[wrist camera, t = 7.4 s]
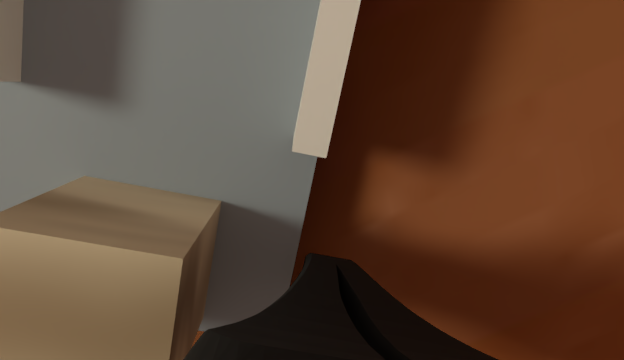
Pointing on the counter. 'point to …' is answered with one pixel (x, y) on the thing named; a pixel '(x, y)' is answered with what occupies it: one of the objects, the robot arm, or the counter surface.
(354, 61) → the counter surface
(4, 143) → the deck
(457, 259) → the counter surface
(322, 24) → the cubby
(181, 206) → the block
